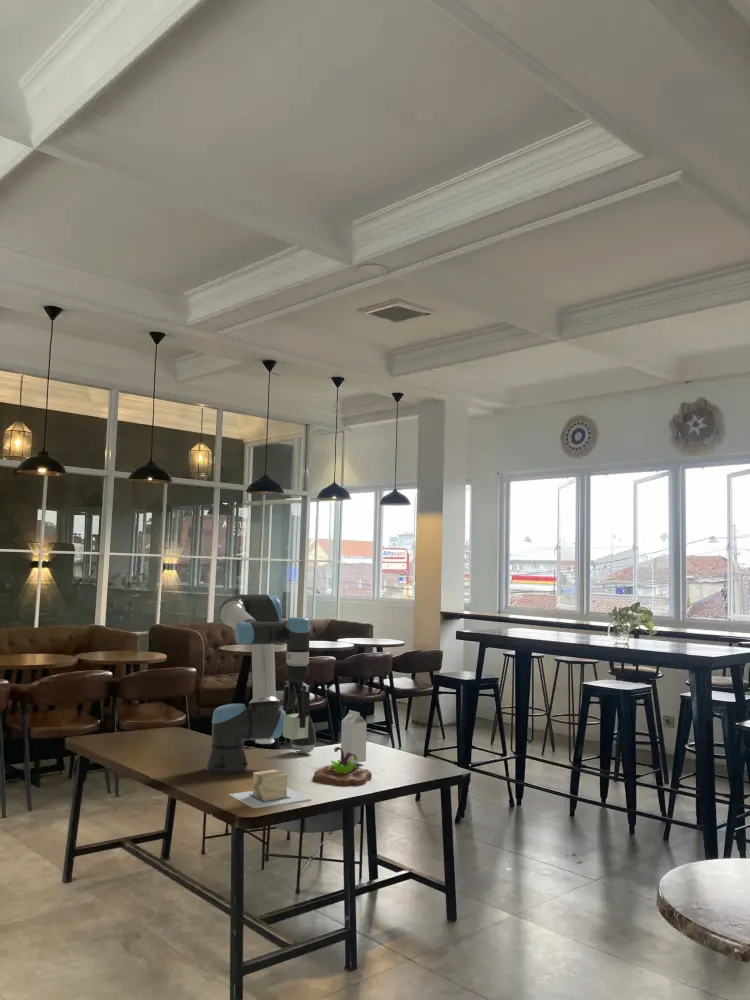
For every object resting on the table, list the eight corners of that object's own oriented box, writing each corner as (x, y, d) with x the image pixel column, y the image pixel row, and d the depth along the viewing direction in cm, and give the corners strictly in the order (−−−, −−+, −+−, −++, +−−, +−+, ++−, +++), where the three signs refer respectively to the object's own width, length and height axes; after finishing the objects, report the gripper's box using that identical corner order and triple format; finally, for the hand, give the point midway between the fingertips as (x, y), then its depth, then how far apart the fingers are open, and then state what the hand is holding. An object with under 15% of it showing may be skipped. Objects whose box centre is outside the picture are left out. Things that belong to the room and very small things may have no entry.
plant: (325, 771, 299) (326, 740, 300) (376, 775, 293) (377, 744, 294) (305, 783, 280) (306, 750, 281) (359, 789, 274) (360, 755, 275)
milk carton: (355, 758, 319) (356, 709, 321) (365, 761, 313) (366, 711, 315) (340, 760, 315) (341, 710, 317) (350, 764, 309) (351, 713, 311)
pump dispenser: (289, 749, 333) (290, 711, 335) (314, 749, 334) (315, 711, 336) (290, 754, 323) (291, 716, 325) (316, 754, 324) (317, 715, 326)
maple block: (252, 795, 258) (253, 772, 259) (274, 791, 263) (275, 769, 264) (263, 800, 252) (264, 777, 252) (286, 797, 256) (287, 774, 257)
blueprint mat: (228, 797, 259) (228, 793, 259) (284, 789, 270) (284, 786, 270) (253, 811, 244) (253, 807, 244) (310, 802, 255) (311, 798, 255)
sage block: (282, 736, 266) (283, 714, 267) (298, 734, 269) (299, 713, 270) (292, 739, 261) (292, 717, 262) (308, 737, 265) (308, 715, 265)
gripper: (273, 662, 273) (271, 732, 271) (302, 668, 258) (300, 742, 255) (292, 661, 277) (290, 730, 275) (322, 666, 262) (320, 739, 260)
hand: (295, 735), depth 265 cm, fingers closed on sage block, 6 cm apart
